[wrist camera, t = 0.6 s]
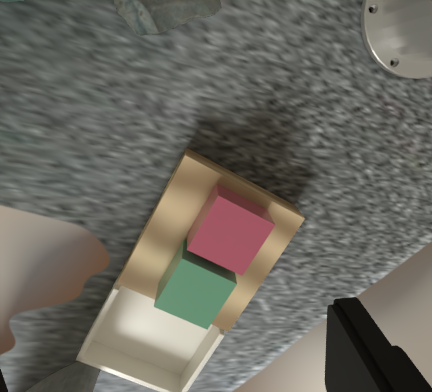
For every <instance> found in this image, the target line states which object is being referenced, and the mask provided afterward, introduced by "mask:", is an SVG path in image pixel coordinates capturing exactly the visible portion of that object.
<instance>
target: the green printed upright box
mask: <svg viewBox="0 0 432 392" xmlns="http://www.w3.org/2000/svg"><path fill="white" fill-rule="evenodd" d="M0 1H1V2H13V1H24V0H0Z"/></svg>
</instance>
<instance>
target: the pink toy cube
mask: <svg viewBox="0 0 432 392" xmlns="http://www.w3.org/2000/svg"><path fill="white" fill-rule="evenodd" d="M274 227H275V223H274V221H273V219H272V217H271V215H270V214H269V212H268V210H267V209H265V208H263V207H262V206H260V205H258V204H256V203H254V202H252V201H250V200H248V199H246V198H244V197H242V196H240V195H239V194H237V193H235V192H233V191H231V190H229V189H227V188H225V187H223V186H221V185H219V184H218V183H216V184H215V186H214V188H213V189H212V191H211V193H210V195H209V196H208V198H207V200H206V202H205V203H204V205H203V207H202V209H201V210H200V212H199V214H198V216H197V217H196V219H195V221H194V223H193V224H192V226H191V228H190V230H189V231H188V240H187V250H188V251H190V252H193V253H195V254H197V255H199V256H201V257H203V258H205V259H207V260H210V261H212V262H214V263H216V264H218V265H220V266H222V267H224V268H226V269H229V270H231V271H233V272H235V273H237V274H239V275H241V276H243V274H244V273H245V271H246V270H247V268H248V267H249V265H250V264H251V262H252V260H253V259H254V257H255V256H256V254H257V253H258V251H259V250H260V248H261V247H262V245H263V244H264V242H265V240H266V239H267V237H268V236H269V234H270V233H271V231H272V230H273V228H274Z"/></svg>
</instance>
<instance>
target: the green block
mask: <svg viewBox="0 0 432 392" xmlns="http://www.w3.org/2000/svg"><path fill="white" fill-rule="evenodd" d="M236 285H237V280H236V275H235V272H233V271H231V270H229V269H226V268H224V267H222V266H220V265H218V264H216V263H214V262H212V261H210V260H207V259H205V258H203V257H201V256H199V255H197V254H195V253H193V252H190V251H188V250H187V241H186V240H183V242H182V243H181V245H180V247H179V249H178V250H177V252H176V254H175V256H174V257H173V259H172V261H171V263H170V264H169V266H168V268H167V270H166V271H165V273H164V275H163V277H162V278H161V280H160V282H159V284H158V288H157V292H156V297H155V302H154V307H155V308H158V309H160V310H162V311H165V312H167V313H169V314H172V315H174V316H176V317H179V318H181V319H183V320H186V321H188V322H190V323H193V324H195V325H197V326H200V327H202V328H204V329H207V330H208V328H209V327H210V325H211V324H212V322H213V320H214V319H215V317H216V316H217V314H218V313H219V311H220V310H221V308H222V307H223V305H224V304H225V302H226V300H227V299H228V297H229V296H230V294H231V293H232V291H233V290H234V288H235V287H236Z"/></svg>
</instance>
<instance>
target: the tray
mask: <svg viewBox="0 0 432 392" xmlns="http://www.w3.org/2000/svg"><path fill="white" fill-rule="evenodd" d="M120 274H121V272H120ZM120 274H119V276H120ZM119 276H118V278H117V280H116V281H115V283H114V285H113V287H112V289H111V291H110V293H109V295H108V297H107V298H106V300H105V302H104V304H103V306H102V308H101V310H100V312H99V313H98V315H97V317H96V319H95V321H94V323H93V325H92V327H91V329H90V330H89V332H88V334H87V336H86V338H85V340H84V342H83V345H82V347H81V349H80V351H79V353H78V356H77V358H76V360H77V361H80V362H83V363H85V364H88V365H91V366H93V367H96V368H99V369H101V370H104V371H106V372H109V373H112V374H114V375H117V376H120V377H122V378H125V379H128V380H130V381H133V382H136V383H138V384H141V385H144V386H146V387H149V388H151V389H154V390H157V391H159V392H187V391H188V389H189V388H190V386H191V385H192V383H193V382H194V380H195V379H196V377H197V376H198V374H199V373H200V371H201V370H202V368H203V367H204V365H205V364H206V362H207V361H208V359H209V358H210V356H211V355H212V353H213V352H214V350H215V349H216V347H217V346H218V344H219V343H220V341H221V340H222V338H223V337H224V330H223V329H221V328H219V327H216V326H214V325H212V324H211V325H210V327H209V328H208V330H207V329H204V328H202V327H200V326H197V325H195V324H193V323H190V322H188V321H186V320H183V319H181V318H179V317H176V316H174V315H172V314H169V313H167V312H165V311H162V310H160V309H158V308H155V307H154V302H155V300H154V299H152V298H149V297H147V296H145V295H142V294H140V293H138V292H135V291H133V290H131V289H128V288H126V287H124V286H122V285H119V284H117V281H118V279H119Z"/></svg>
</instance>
